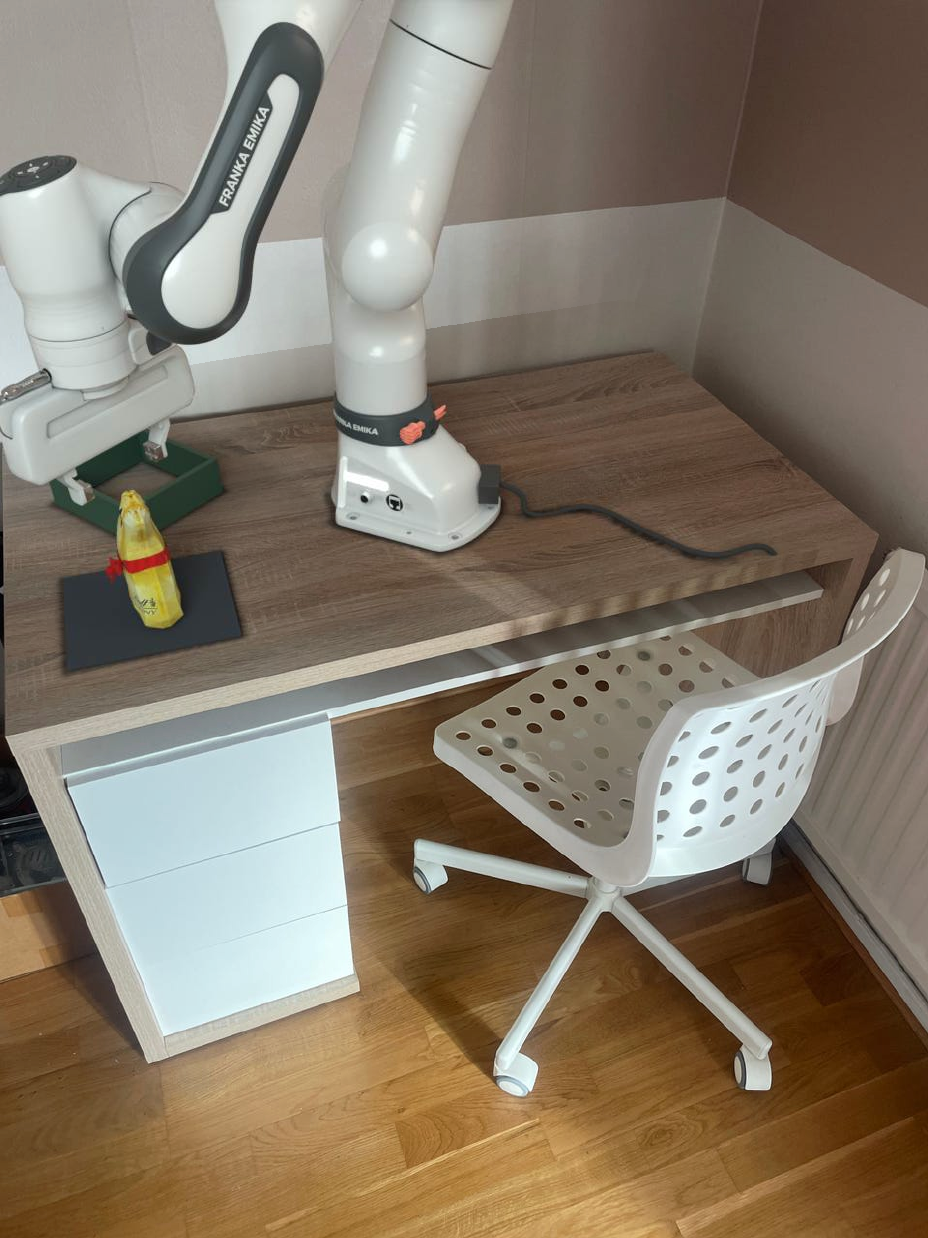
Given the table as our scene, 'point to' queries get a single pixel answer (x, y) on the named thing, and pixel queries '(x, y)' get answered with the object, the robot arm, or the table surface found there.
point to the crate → (163, 504)
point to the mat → (115, 628)
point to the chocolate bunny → (145, 564)
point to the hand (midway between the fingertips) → (121, 478)
